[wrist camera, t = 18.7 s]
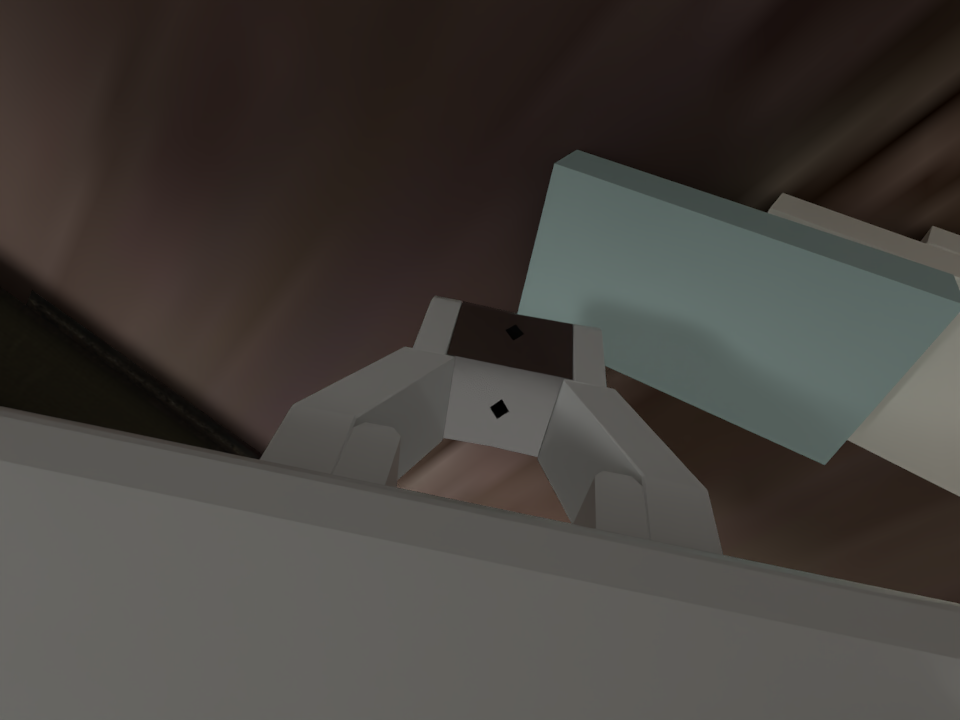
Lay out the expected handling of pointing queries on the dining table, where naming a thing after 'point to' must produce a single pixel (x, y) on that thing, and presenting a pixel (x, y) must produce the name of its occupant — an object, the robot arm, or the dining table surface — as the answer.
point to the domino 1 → (732, 302)
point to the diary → (92, 381)
